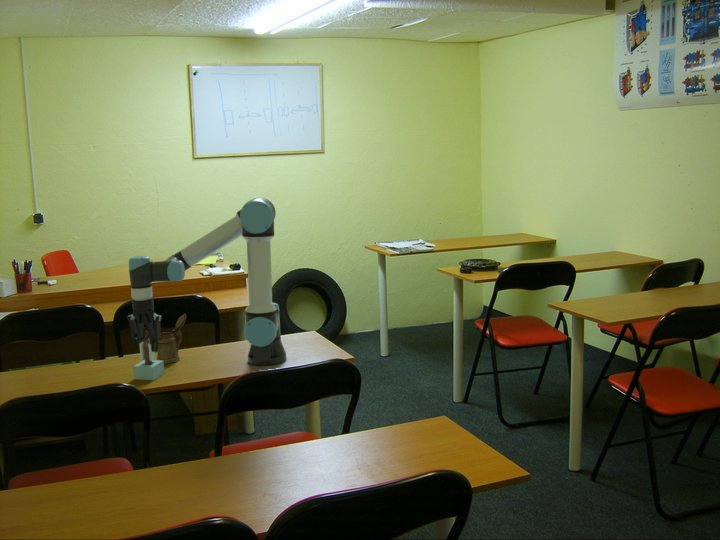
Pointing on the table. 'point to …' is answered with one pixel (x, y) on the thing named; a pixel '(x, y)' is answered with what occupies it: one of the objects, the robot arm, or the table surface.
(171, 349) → the wooden mug
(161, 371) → the bead
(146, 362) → the brown stepped rod
